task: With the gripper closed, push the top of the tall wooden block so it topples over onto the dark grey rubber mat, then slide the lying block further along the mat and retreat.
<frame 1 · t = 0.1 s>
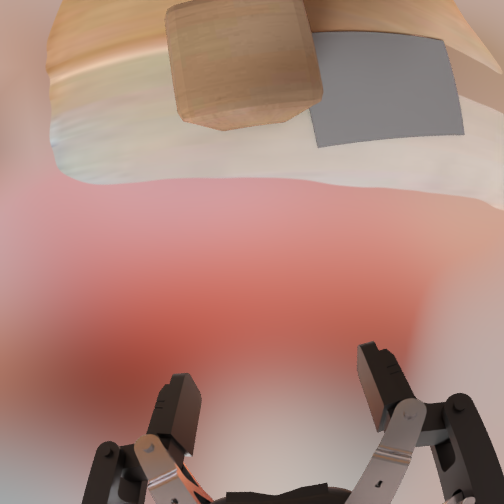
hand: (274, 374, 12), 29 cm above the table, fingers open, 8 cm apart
wooden block: (248, 92, 32), on the table
rubber mat: (391, 83, 30), on the table
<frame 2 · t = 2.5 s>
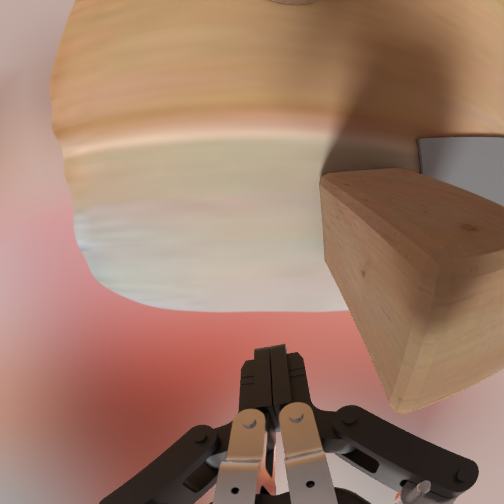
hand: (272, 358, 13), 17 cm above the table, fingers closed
wooden block: (364, 214, 27), on the table
rubber mat: (493, 199, 26), on the table
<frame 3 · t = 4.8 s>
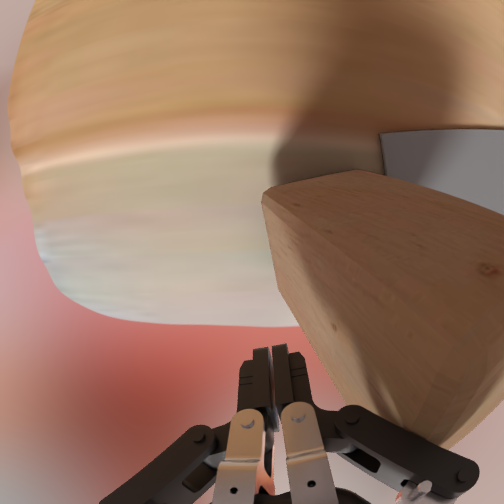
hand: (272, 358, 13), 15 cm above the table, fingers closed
wooden block: (319, 229, 25), point 1 cm above the table, touching hand
rubber mat: (480, 201, 23), on the table
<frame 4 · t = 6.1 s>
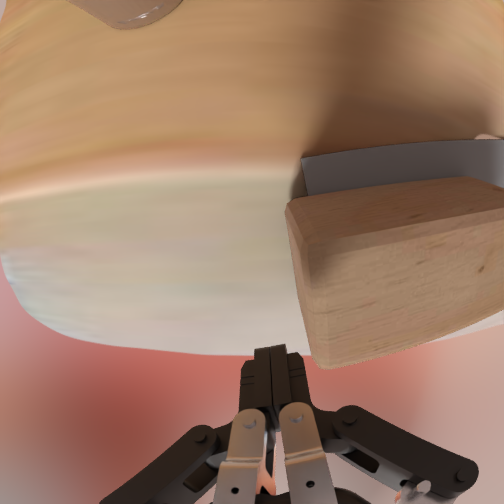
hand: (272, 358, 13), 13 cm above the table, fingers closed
wooden block: (296, 281, 20), point 5 cm above the table, touching rubber mat
rubber mat: (438, 224, 23), on the table
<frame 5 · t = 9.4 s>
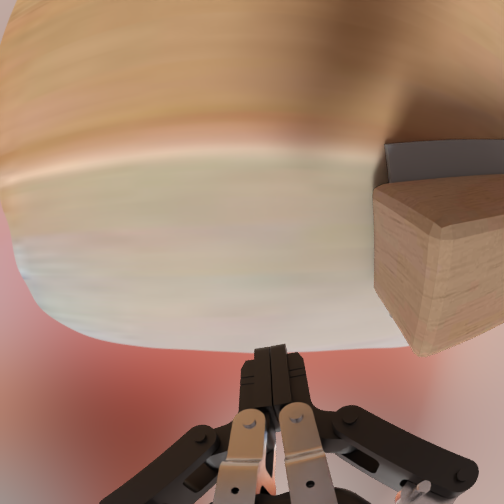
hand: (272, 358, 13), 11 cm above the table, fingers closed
wooden block: (392, 268, 17), point 5 cm above the table, touching rubber mat
rubber mat: (489, 217, 21), on the table
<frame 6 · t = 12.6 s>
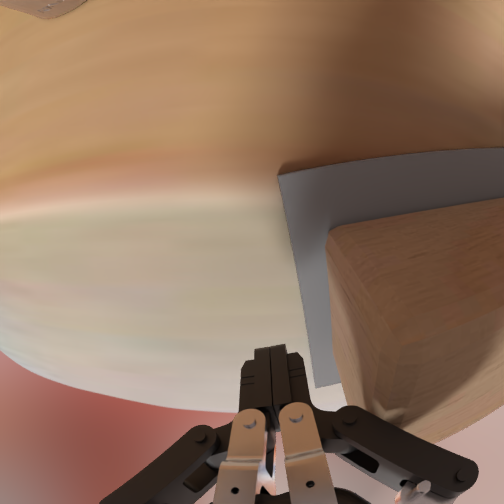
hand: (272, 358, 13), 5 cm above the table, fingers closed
wooden block: (343, 353, 12), point 6 cm above the table, touching hand, rubber mat
rubber mat: (466, 261, 16), on the table
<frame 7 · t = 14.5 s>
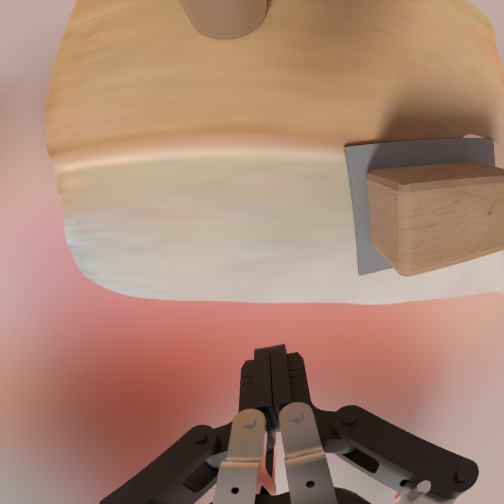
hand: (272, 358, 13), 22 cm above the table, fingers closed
wooden block: (380, 220, 27), point 5 cm above the table, touching rubber mat
rubber mat: (437, 199, 32), on the table
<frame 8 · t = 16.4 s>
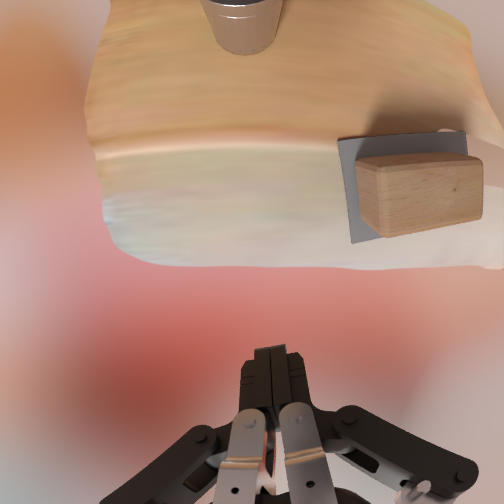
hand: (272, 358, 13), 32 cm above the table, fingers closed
wooden block: (366, 196, 36), point 5 cm above the table, touching rubber mat
rubber mat: (415, 182, 40), on the table
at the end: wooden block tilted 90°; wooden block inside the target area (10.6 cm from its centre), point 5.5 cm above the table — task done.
